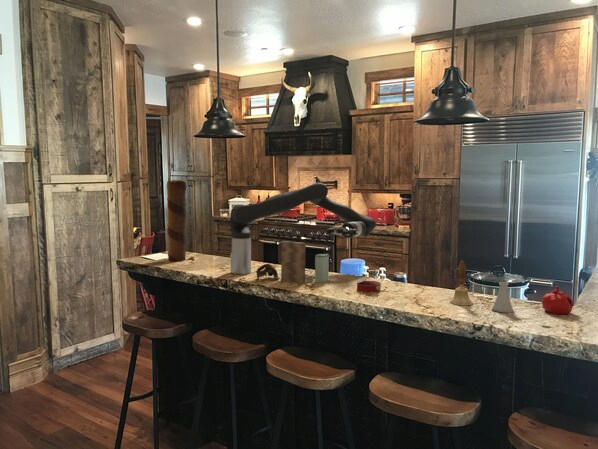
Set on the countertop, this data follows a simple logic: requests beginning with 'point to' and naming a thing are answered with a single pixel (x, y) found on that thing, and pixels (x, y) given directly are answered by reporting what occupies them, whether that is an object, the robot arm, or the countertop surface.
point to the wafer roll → (176, 219)
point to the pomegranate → (557, 302)
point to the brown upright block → (293, 263)
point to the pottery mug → (267, 271)
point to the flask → (503, 300)
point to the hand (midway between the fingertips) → (334, 232)
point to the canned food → (369, 285)
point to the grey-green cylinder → (321, 267)
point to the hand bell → (461, 289)
